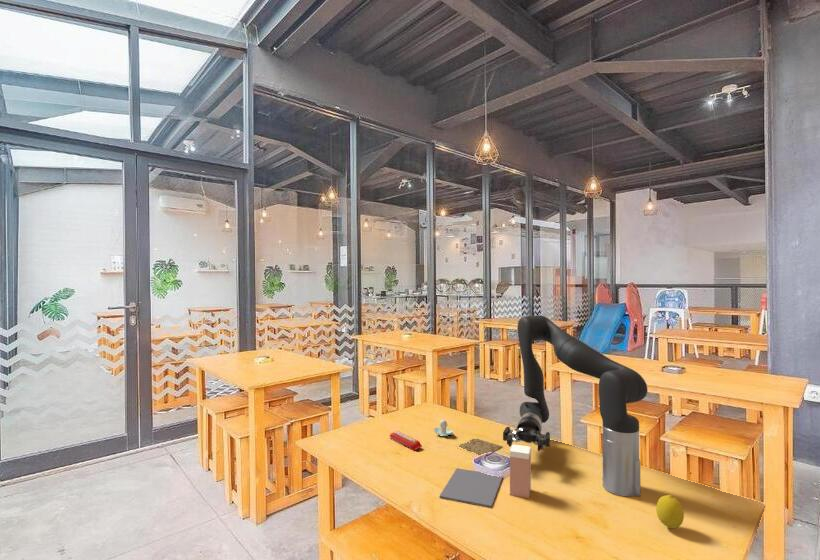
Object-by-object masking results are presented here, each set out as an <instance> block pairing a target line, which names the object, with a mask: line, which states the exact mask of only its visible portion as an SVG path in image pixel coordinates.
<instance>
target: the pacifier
mask: <svg viewBox="0 0 820 560" xmlns="http://www.w3.org/2000/svg"><path fill="white" fill-rule="evenodd" d="M439 426H440V427H434V429H433V431H434V433H436V434H437V435H438V436H439V435H443V436H448V435H452V436H454V430H449V429H448V430H447V427H448V422H447V421H446V420H445V419H440V421H439ZM437 432H438V433H437ZM448 437H449V436H448Z"/></svg>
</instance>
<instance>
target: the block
mask: <svg viewBox="0 0 820 560" xmlns="http://www.w3.org/2000/svg"><path fill="white" fill-rule="evenodd" d="M531 449H532V447H531V446H527V445H518V444H513V443H512V445H511V446H510V450H509V496H515V497H519V498H525V499H529V498H530V495H531V490H532V488H531V487H532V486H531V485H532V483H531V482H532V481H531V480H532V479H531V478H532V477H531V476H532V475H531V473H532V471H531V470H532V468H531V466H532V465H531V464H532V462H531V460H532V459H531V456H532V453H531V452H532V451H531Z"/></svg>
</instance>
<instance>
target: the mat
mask: <svg viewBox="0 0 820 560" xmlns="http://www.w3.org/2000/svg"><path fill="white" fill-rule="evenodd" d="M481 472H482V471H476V470H472V469H471V470H470V469H466V468H460V467H459V468H458V467H456V469H455V470H454V472H453V474H452V475H451V477H450V478H449V480H448V481H447V483H446V485H445V486H444V488H443V490H441V491H442V492H441V493H440V494H439V496H438V497H439V498H440V499H444V500H450V501H454V502H460V503H465V504H471V505H476V506H481V507H485V508H492V507H493V504H494V501H495V499H496V498H497V497H496V496H497V493H498V491H499V488H500V485H501V483H502V480H503V478H502V476H503V475H502V476H501V477H500V476H499V477H497V476H491V475H487V474H484V473H485V472H484V473H481Z"/></svg>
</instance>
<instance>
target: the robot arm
mask: <svg viewBox="0 0 820 560" xmlns="http://www.w3.org/2000/svg"><path fill="white" fill-rule="evenodd" d="M517 321H518V322H517V337H518V343H519V348H520V355H521V360H522V366H523V367H522V368H523V386H524V387H523V391H524V395H525V396H526V397H528V398H532V399H534V400H536V401H537V402H536V401H535V402H532V401H524V402H522V403H521V404H520V406H519V415H520V419H519V422H518V424H517V425H516V428H514V429H511V427H510V426H506V427H505V429H504V430H503V432H502V440H503V441H505V442H506V445H508V447H512V444H513V443H514V442H515V443H518V442H524V443H528V444H531V443H532V444H534V445H535V446H537V451H538V452H539V451H541V450H544V446H545V447H547V448H550V447H551V433H550V431H549V432H545V433H542V429H543V426H542V425H543V424H545V423H547V422H548V420H549V418H550V411H549V408H548V404H547V400H546V398H545V397H546V395H545V385H544V384H545V383H544V372H543V369H542V367H541V366H540V363H539V362H538V360H537V358H536V356H535V354H534V352H533V351H534V350H533V342H537V341H545V342H547V343H549V344H551V345H552V346H553V351H554V355H555V356H556V358H557V359H558V360H559V361H560V362H561V363H563V364H564V365H566V367H568V368H570V369H572V370H573V371H575V372H577V373H580V374H583V375H587V376H588V377H589V376H590V377H593V378H596V379H599V381H598V403H599V414H600V418H601V419H602V420H601V421H602V478H601V479H602V487H603V488H604V490H605V491H607V492H609V493H612V494H614V495H617V496H622V497H634V496H637V497H641V459H640V421H639V419H638V418H637V417H635V416H633V415H632V414H628V409H627V404H633V403H637V402H641V401H642V400H644V399H645V398H646V396H647V395H648V385H647V382H646V381H645V379H644V377H643V376H642V375H641V374H640V373H639V372H637V371H636V370H634V369H632V368H630V367H629V366H628V367H627V366H626V365H623V364H622V363H619V362H617V361H615V360H613V359H611V358H609V357H608V356H606V355H604V354H603V353H601V352H599V351H598V350H596V349H594V348H593V347H591V346H590V345H588V344H586V343H585V342H583V340H581V339H579V338H576V337H575V336H573V335H571V334H570V333H569V332H567V331H566V330H563V329H561V328H560V327H559V326H558V325H557V324H556V323H554V322H553V321H552V320H550V319H549V318H548V317H546V316H544V315H539V314H538V315H530V316H528V315H527V316H525V315H524V316H522V317H521V318H520V319H519V320H517Z"/></svg>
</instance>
